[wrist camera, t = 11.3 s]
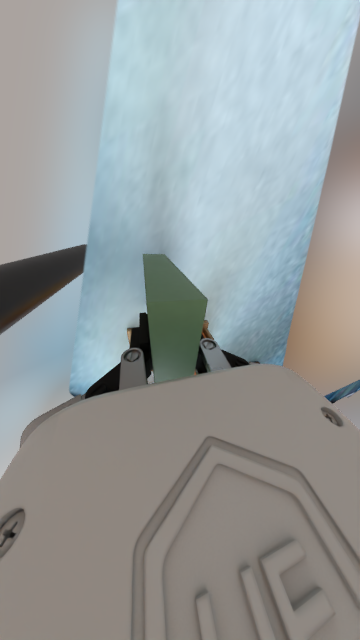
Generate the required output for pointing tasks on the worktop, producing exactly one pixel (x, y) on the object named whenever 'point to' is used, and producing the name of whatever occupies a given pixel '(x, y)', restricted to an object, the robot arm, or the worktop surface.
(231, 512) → the robot arm
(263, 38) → the worktop surface
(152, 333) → the green book
